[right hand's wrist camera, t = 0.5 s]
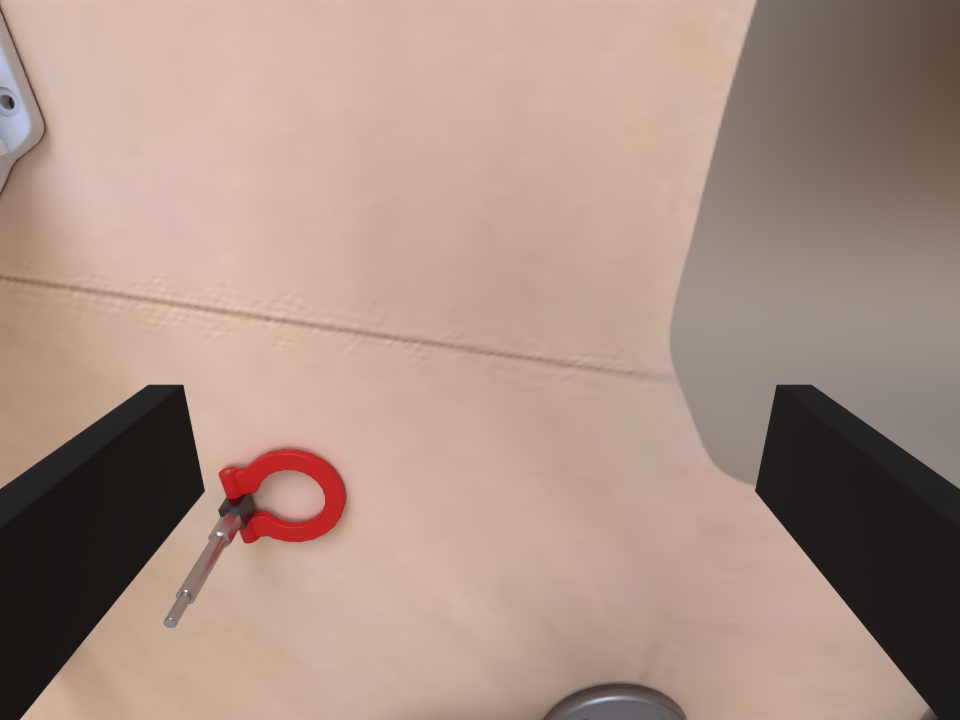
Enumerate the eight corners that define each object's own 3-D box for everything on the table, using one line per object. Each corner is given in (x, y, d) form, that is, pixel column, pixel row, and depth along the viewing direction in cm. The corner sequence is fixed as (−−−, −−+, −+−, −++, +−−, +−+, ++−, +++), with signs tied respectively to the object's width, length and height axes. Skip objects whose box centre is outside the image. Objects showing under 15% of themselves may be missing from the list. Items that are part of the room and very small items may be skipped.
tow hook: (332, 438, 44) (218, 457, 44) (288, 546, 32) (130, 570, 32) (356, 525, 47) (249, 542, 47) (324, 653, 35) (180, 675, 35)
